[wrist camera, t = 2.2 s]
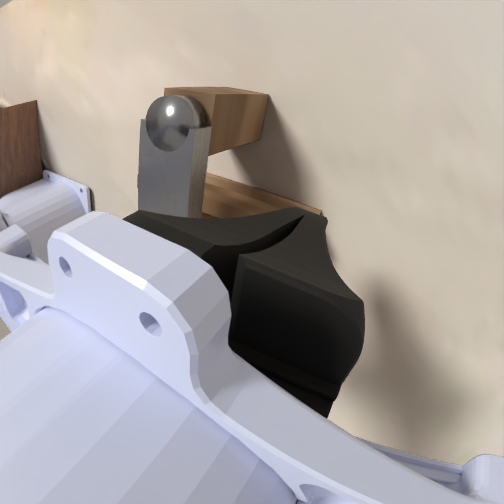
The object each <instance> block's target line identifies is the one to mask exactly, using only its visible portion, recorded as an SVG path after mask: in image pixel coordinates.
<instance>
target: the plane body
mask: <svg viewBox="0 0 504 504" xmlns="http://www.w3.org/2000/svg"><path fill="white" fill-rule="evenodd" d="M173 95H189V96H192V97H194V98H196V99H197V100H198V101H199V102H200V103H201V105H202V106H203V108H204V111H205V114H206V125H208V126H212V130H211V137H210V145H209V153H208V156H210V155H213V154H216V153H219V152H222V151H225V150H228V149H231V148H234V147H237V146H241V145H244V144H247V143H250V142H254V141H257V140H260V139H261V133H262V128H263V123H264V117H265V112H266V106H267V101H268V96H269V95H268V94H263V93H258V92H252V91H247V90H241V89H235V88H228V87H175V88H165V90H164V96H173ZM138 176H139V174H138ZM137 188H138V184H137ZM289 207H299V208H302V209H304V210H307V211H310V212H313V213H315V214H318V215H320V214H321V210H318V209H315V208H312V207H310V206H307V205H304V204H301V203H298V202H295V201H293V200H290V199H287V198H284V197H281V196H278V195H275V194H272V193H269V192H266V191H263V190H260V189H257V188H254V187H251V186H248V185H245V184H242V183H239V182H235V181H232V180H229V179H226V178H223V177H219V176H216V175H213V174H210V173H206V179H205V188H204V197H203V207H202V212H204V213H207V214H210V215H212V216H215V217H218V218H220V219H221V218H236V217H245V216H251V215H256V214H262V213H267V212H271V211H276V210H280V209H284V208H289Z"/></svg>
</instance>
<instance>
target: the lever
mask: <svg viewBox="0 0 504 504" xmlns="http://www.w3.org/2000/svg"><path fill="white" fill-rule="evenodd" d="M211 130H212V126H208V125H206V114H205V111H204V108H203V106H202V105H201V103H200V102H199V101H198V100H197V99H196V98H194V97H192V96H189V95H173V96H163V97H160V98H158V99H156V100H155V101H154V102H153V103H152V104H151V106H150V107H149V109H148V112H147V115H146V119H141V127H140V145H139V176H138V210H144V211H148V212H154V213H159V214H164V215H171V216H178V217H188V218H201V217H202V207H203V197H204V188H205V179H206V170H207V161H208V153H209V145H210V137H211Z"/></svg>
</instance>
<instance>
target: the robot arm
mask: <svg viewBox="0 0 504 504" xmlns="http://www.w3.org/2000/svg"><path fill="white" fill-rule="evenodd" d="M327 223H328V220H327V218H326V217H324V216H321V215H318V214H315V213H313V212H310V211H307V210H304V209H302V208H299V207H289V208H284V209H280V210H276V211H271V212H267V213H262V214H256V215H251V216H245V217H236V218H221V219H219V218H188V217H178V216H171V215H164V214H159V213H154V212H148V211H144V210H138V211H136V212H135V213H133V214H131V215H129V216H127V217H125V218H123V219H120V218H118V217H116V216H113V215H111V214H109V213H107V212H98V211H92V212H91V202H90V190H89V188H88V187H87V186H85V185H83V184H80V183H78V182H75V181H73V180H70V179H68V178H66V177H63V176H61V175H58V174H56V173H53V172H51V171H48V170H44V171H43V179H41V180H39V181H36V182H34V183H32V184H29V185H27V186H24V187H22V188H20V189H18V190H15V191H13V192H11V193H9V194H6V195H5V196H3V197H2V198H1V199H0V318H2V320H3V321H4V322H5V324H6V325H7V327H8V328H9V329H10V331H11V333H10V334H8V335H7V336H6V337H5V338H3V339H2V340H1V341H0V504H504V457H502V456H496V455H491V454H482V455H478V456H476V457H474V458H473V459H471V460H470V461H468V462H467V463H466V464H465V465H463V466H462V465H457V464H452V463H447V462H443V461H438V460H434V459H430V458H426V457H422V456H418V455H414V454H410V453H406V452H403V451H399V450H396V449H392V448H389V447H386V446H383V445H379V444H376V443H373V442H370V441H367V440H364V439H361V438H358V437H355V436H353V435H351V434H350V433H348V432H347V431H345V430H343V429H342V428H340V427H339V426H337V425H336V424H334V423H332V422H331V421H329V420H328V419H327V418H328V415H329V412H330V410H331V407H332V404H333V401H335V399H336V398H337V396H338V393H339V391H340V388H341V385H342V383H343V382H344V380H345V379H346V377H347V376H348V374H349V373H350V371H351V370H352V368H353V367H354V365H355V364H356V362H357V361H358V359H359V356H360V354H361V351H362V348H363V343H364V332H365V314H364V303H363V301H362V300H361V299H360V298H359V297H358V296H357V295H356V294H355V293H354V292H353V291H352V290H351V289H349V287H348V286H347V285H346V284H345V283H344V281H343V280H342V279H341V278H340V276H339V275H338V273H337V272H336V270H335V268H334V266H333V264H332V262H331V259H330V256H329V252H328V248H327V243H326V234H325V230H326V226H327ZM48 263H49V264H48Z"/></svg>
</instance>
